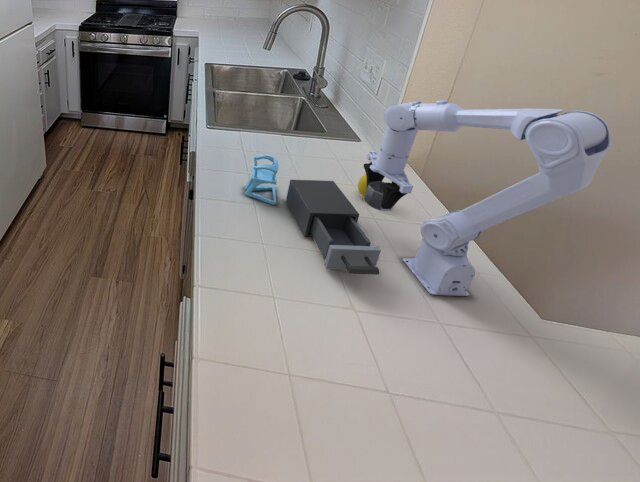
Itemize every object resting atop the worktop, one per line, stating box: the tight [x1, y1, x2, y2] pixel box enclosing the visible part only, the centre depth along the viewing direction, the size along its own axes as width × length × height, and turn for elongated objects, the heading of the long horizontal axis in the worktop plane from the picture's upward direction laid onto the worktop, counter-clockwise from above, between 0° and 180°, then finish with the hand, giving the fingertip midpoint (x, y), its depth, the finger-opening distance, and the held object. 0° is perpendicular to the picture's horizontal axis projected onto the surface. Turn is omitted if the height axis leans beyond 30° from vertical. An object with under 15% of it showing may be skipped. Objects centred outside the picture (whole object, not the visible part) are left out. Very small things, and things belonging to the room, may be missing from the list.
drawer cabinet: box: [285, 179, 360, 239], centre depth 99 cm, size 14×12×8 cm
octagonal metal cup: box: [363, 180, 394, 212], centre depth 93 cm, size 6×6×5 cm
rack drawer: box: [309, 215, 382, 276], centre depth 87 cm, size 17×10×6 cm, turn 178°
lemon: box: [357, 173, 367, 198], centre depth 108 cm, size 6×6×8 cm
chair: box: [244, 154, 279, 206], centre depth 108 cm, size 8×8×12 cm
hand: (378, 199), depth 94 cm, fingers closed on octagonal metal cup, 6 cm apart
